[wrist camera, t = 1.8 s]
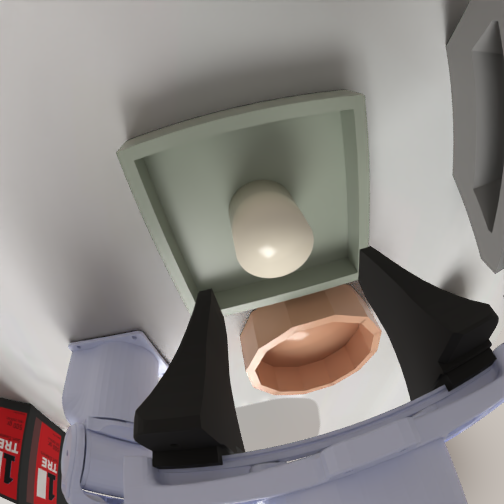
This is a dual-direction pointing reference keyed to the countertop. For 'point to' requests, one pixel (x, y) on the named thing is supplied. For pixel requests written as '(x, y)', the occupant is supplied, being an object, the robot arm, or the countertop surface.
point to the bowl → (309, 341)
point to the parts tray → (247, 170)
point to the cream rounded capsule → (268, 230)
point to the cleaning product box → (29, 455)
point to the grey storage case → (480, 122)
